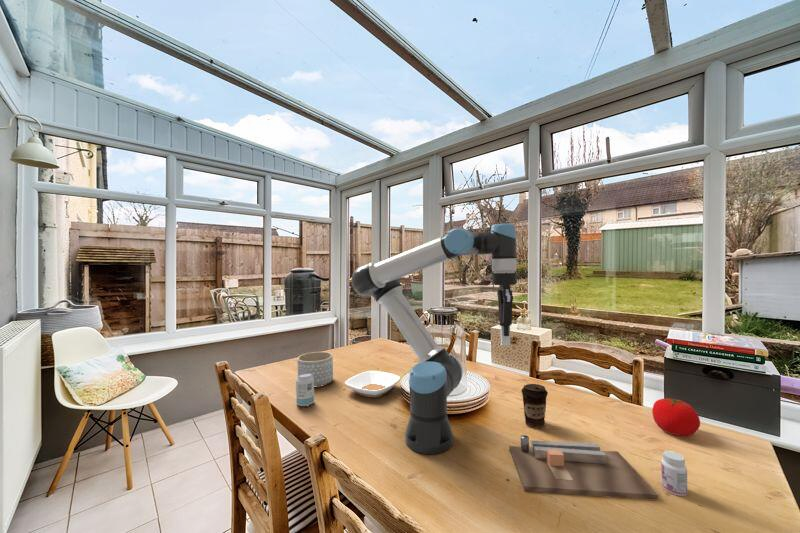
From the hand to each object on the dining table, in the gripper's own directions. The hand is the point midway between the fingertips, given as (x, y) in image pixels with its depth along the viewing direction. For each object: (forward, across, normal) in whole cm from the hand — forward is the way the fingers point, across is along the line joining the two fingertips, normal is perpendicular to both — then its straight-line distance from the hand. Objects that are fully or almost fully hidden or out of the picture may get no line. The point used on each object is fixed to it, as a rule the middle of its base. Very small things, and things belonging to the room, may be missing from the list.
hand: (505, 345), depth 101 cm
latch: (+28, -15, -10) cm, 33 cm away
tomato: (+30, +8, -54) cm, 62 cm away
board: (+29, -16, -14) cm, 36 cm away
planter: (+30, +40, +81) cm, 95 cm away
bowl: (+30, +32, +51) cm, 67 cm away
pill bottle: (+30, -21, -35) cm, 50 cm away
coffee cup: (+30, +8, -11) cm, 33 cm away
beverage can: (+30, +17, +76) cm, 83 cm away
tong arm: (+28, -13, -14) cm, 34 cm away
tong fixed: (+28, -10, -13) cm, 32 cm away
